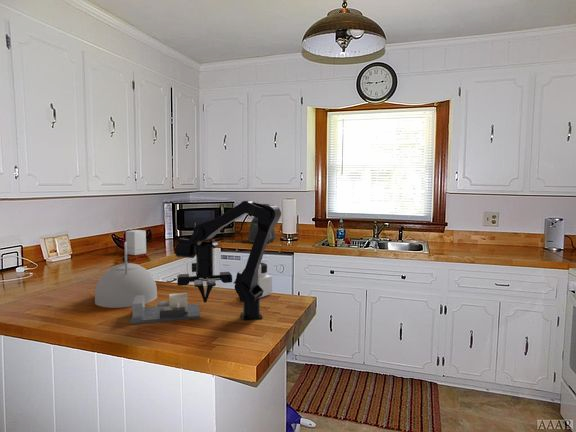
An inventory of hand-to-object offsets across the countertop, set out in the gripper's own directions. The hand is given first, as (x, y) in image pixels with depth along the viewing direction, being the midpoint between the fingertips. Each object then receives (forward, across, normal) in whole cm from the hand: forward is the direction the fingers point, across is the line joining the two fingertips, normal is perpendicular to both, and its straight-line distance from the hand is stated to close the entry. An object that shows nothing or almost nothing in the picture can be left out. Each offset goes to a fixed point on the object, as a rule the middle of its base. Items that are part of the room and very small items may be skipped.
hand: (205, 302), depth 137 cm
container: (+4, -23, -16) cm, 29 cm away
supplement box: (+4, +35, -127) cm, 131 cm away
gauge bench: (+3, +13, 0) cm, 14 cm away
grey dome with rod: (+4, +29, -25) cm, 38 cm away
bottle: (+4, -54, -156) cm, 166 cm away
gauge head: (+2, +11, +2) cm, 11 cm away
